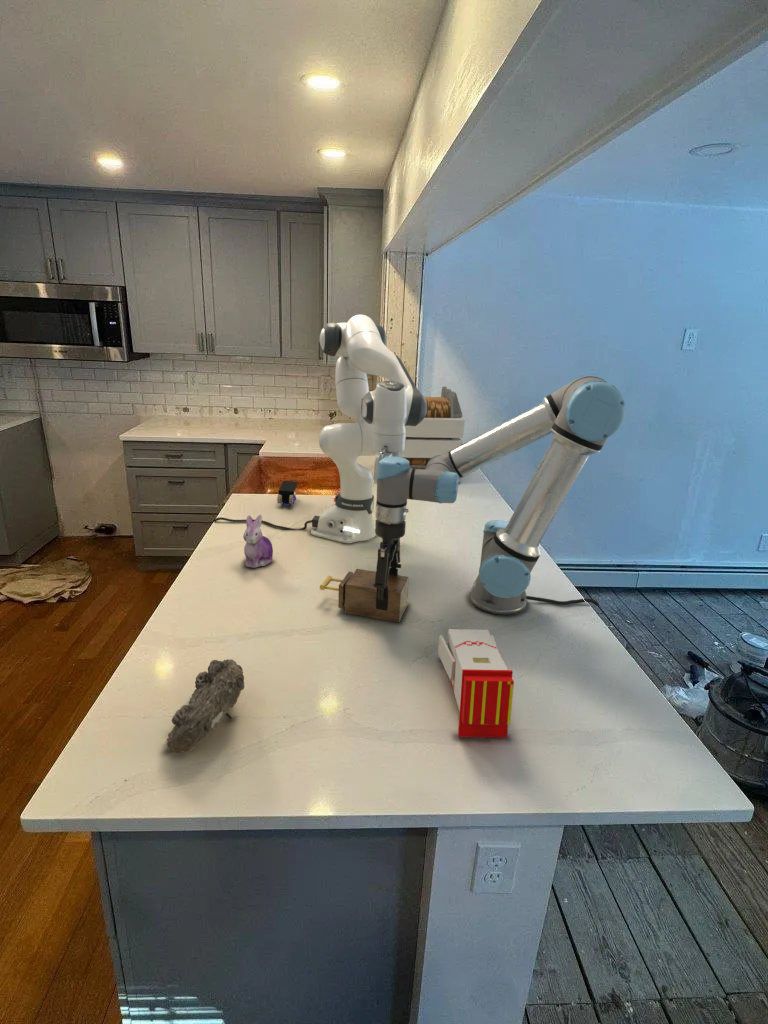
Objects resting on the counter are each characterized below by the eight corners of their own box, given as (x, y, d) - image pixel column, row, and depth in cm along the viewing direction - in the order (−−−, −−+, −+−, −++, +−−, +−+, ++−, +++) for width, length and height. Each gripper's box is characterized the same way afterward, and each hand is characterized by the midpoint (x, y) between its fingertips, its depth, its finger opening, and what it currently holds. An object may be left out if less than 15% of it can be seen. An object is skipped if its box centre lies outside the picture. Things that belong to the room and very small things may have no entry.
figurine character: (294, 513, 219) (298, 496, 232) (293, 495, 215) (298, 479, 229) (276, 512, 219) (282, 496, 232) (276, 494, 215) (281, 479, 229)
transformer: (382, 463, 289) (386, 382, 275) (445, 464, 293) (451, 384, 279) (390, 482, 257) (394, 392, 243) (460, 483, 261) (468, 394, 247)
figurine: (247, 571, 167) (245, 523, 162) (239, 557, 175) (236, 512, 170) (278, 566, 171) (277, 519, 166) (269, 553, 179) (267, 508, 174)
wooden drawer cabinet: (344, 613, 147) (345, 584, 144) (356, 596, 156) (356, 568, 153) (399, 622, 143) (400, 593, 141) (407, 604, 152) (409, 576, 149)
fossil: (192, 660, 117) (244, 628, 112) (224, 691, 120) (276, 661, 115) (142, 746, 98) (202, 712, 93) (182, 779, 101) (242, 748, 96)
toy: (488, 613, 130) (523, 677, 101) (484, 667, 133) (517, 744, 104) (435, 612, 130) (455, 676, 101) (432, 666, 133) (451, 743, 103)
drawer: (317, 604, 149) (317, 581, 147) (328, 589, 156) (328, 568, 154) (388, 616, 144) (389, 593, 142) (395, 601, 152) (397, 579, 150)
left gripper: (392, 451, 144) (390, 503, 148) (407, 436, 163) (404, 483, 167) (368, 449, 145) (366, 501, 149) (385, 435, 164) (383, 481, 168)
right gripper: (394, 537, 129) (389, 623, 137) (414, 507, 150) (409, 583, 157) (363, 533, 131) (360, 618, 138) (387, 503, 151) (383, 579, 159)
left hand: (387, 491), depth 158 cm, fingers open, 8 cm apart
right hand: (386, 599), depth 148 cm, fingers open, 10 cm apart
